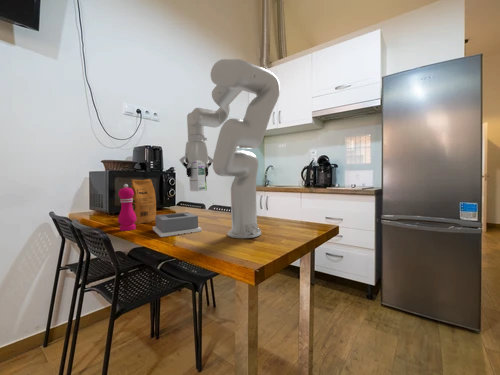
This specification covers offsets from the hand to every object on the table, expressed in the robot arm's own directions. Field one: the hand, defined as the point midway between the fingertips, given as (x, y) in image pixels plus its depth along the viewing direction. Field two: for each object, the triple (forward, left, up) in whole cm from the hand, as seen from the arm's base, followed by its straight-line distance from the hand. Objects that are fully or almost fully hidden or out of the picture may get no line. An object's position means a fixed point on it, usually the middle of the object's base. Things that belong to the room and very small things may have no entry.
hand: (197, 176), depth 113 cm
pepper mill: (+7, +30, -23) cm, 39 cm away
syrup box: (0, 0, -7) cm, 7 cm away
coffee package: (+22, +22, -23) cm, 39 cm away
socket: (-9, +13, -23) cm, 28 cm away
